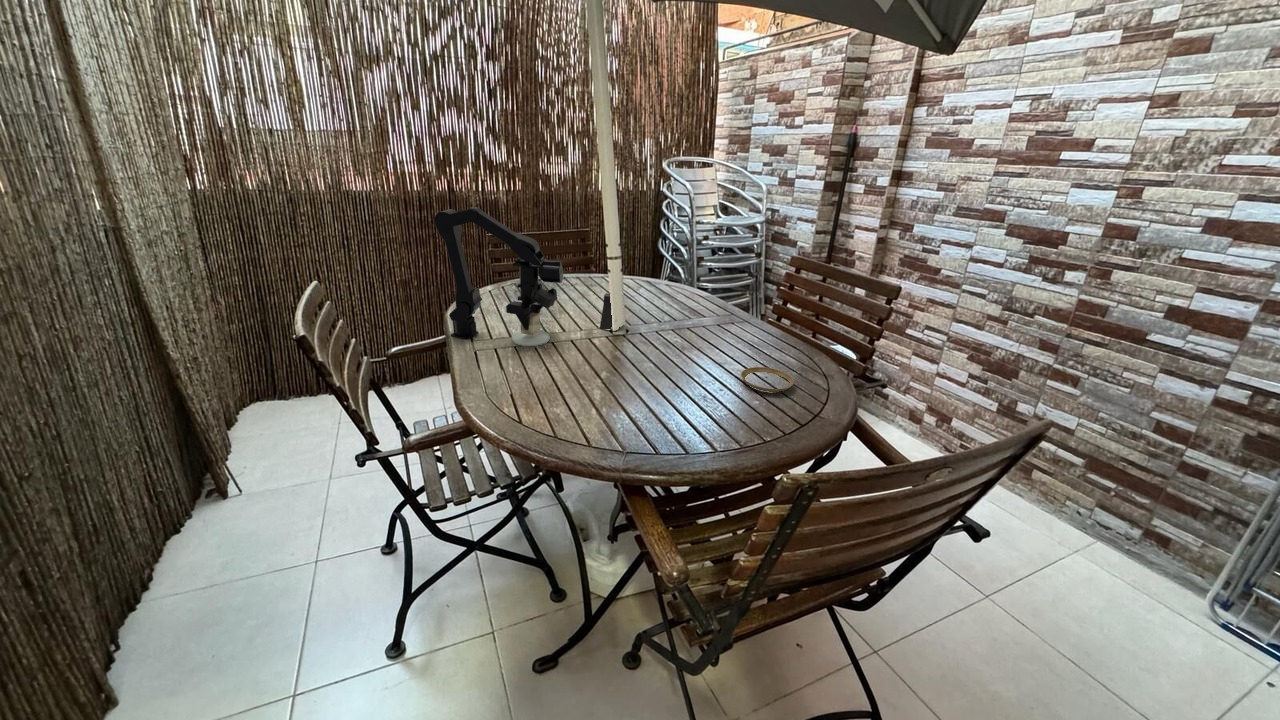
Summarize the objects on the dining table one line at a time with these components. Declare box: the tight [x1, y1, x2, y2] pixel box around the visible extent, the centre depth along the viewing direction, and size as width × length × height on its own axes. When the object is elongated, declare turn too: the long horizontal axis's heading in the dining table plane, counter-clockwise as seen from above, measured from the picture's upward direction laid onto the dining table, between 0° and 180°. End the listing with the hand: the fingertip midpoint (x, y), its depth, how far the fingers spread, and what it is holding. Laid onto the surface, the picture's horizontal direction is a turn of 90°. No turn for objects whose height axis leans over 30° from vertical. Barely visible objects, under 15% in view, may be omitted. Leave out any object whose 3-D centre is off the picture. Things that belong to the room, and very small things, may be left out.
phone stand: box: [599, 293, 612, 330], centre depth 181 cm, size 9×6×12 cm, turn 161°
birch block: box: [520, 313, 541, 335], centre depth 165 cm, size 4×4×6 cm
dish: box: [511, 330, 550, 347], centre depth 167 cm, size 12×12×1 cm
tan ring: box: [740, 366, 795, 392], centre depth 146 cm, size 15×15×3 cm
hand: (530, 327), depth 166 cm, fingers closed on birch block, 4 cm apart
